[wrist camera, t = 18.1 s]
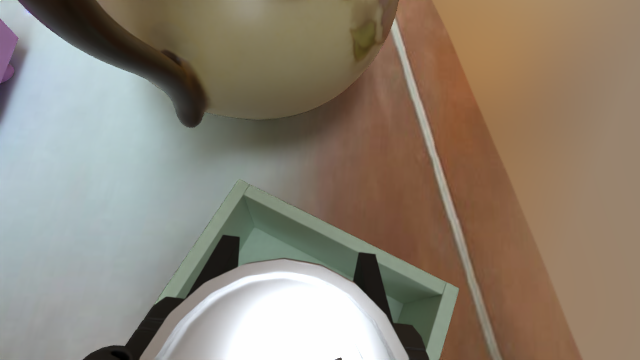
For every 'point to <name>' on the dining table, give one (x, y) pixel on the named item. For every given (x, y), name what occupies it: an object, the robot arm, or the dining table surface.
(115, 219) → the dining table surface
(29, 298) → the dining table surface
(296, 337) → the beer can
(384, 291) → the robot arm
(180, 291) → the bin
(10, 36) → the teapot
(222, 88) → the pitcher
